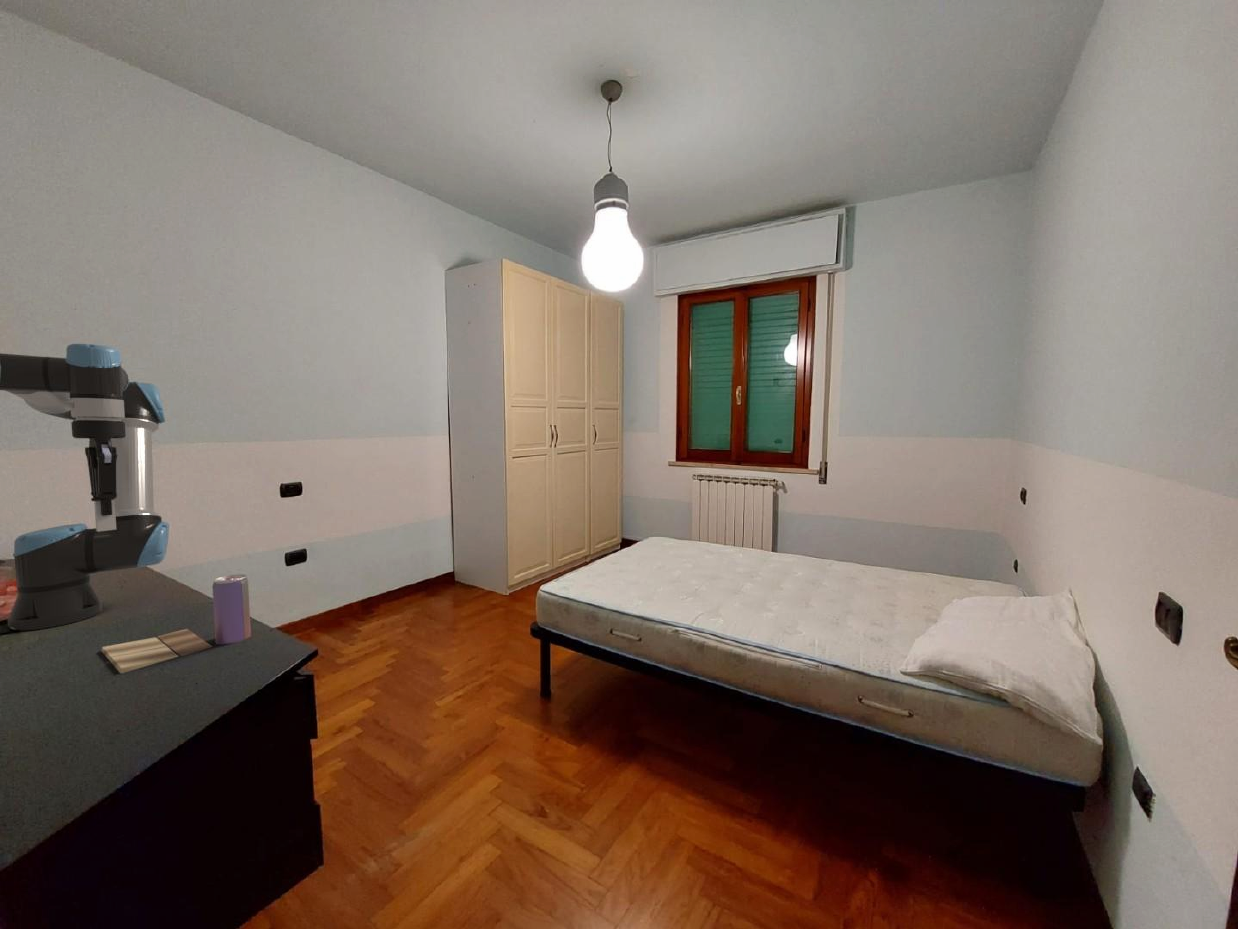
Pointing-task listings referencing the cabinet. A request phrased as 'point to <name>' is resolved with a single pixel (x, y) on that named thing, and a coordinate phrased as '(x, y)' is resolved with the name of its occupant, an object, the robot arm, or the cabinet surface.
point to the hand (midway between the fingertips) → (106, 530)
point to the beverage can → (231, 609)
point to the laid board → (184, 642)
